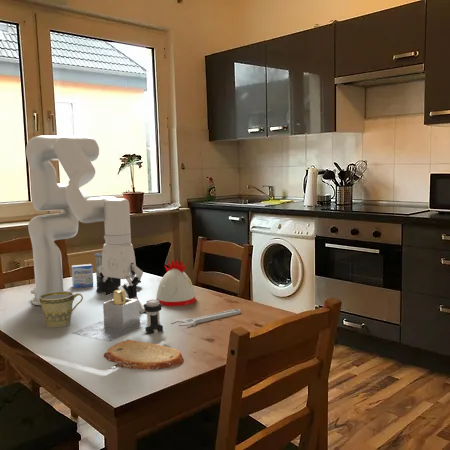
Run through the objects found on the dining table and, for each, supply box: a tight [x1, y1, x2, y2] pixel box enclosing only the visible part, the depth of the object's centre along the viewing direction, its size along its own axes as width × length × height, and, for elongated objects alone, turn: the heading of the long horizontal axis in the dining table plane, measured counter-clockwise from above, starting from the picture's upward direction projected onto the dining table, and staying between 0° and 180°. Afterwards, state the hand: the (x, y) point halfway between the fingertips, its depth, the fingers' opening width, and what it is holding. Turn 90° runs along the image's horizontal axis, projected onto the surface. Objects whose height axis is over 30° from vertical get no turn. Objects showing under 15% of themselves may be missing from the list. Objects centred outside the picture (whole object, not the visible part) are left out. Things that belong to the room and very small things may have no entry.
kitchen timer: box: [155, 259, 196, 307], centre depth 185 cm, size 14×14×15 cm
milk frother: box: [94, 251, 142, 294], centre depth 203 cm, size 14×16×15 cm
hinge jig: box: [71, 298, 147, 342], centre depth 155 cm, size 15×19×8 cm
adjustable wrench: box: [170, 308, 241, 329], centre depth 163 cm, size 25×6×2 cm, turn 121°
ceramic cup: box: [39, 290, 84, 328], centre depth 160 cm, size 13×10×10 cm
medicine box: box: [71, 263, 94, 289], centre depth 210 cm, size 8×4×9 cm, turn 111°
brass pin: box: [112, 290, 126, 304], centre depth 158 cm, size 4×4×10 cm
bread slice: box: [103, 339, 185, 371], centre depth 133 cm, size 18×18×4 cm
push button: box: [140, 299, 164, 335], centre depth 150 cm, size 7×5×10 cm
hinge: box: [118, 282, 147, 315], centre depth 176 cm, size 17×5×10 cm, turn 21°
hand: (120, 295), depth 157 cm, fingers open, 8 cm apart
